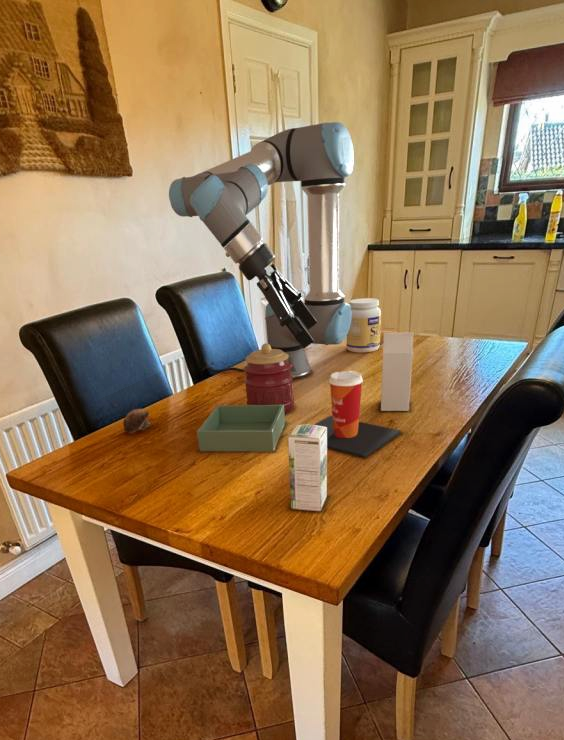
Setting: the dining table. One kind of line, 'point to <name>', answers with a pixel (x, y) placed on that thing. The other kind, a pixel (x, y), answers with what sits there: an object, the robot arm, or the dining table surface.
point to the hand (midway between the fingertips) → (311, 334)
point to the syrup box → (308, 467)
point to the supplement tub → (364, 325)
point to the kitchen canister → (269, 378)
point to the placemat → (358, 438)
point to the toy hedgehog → (136, 420)
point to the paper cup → (345, 402)
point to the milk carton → (396, 371)
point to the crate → (242, 428)
